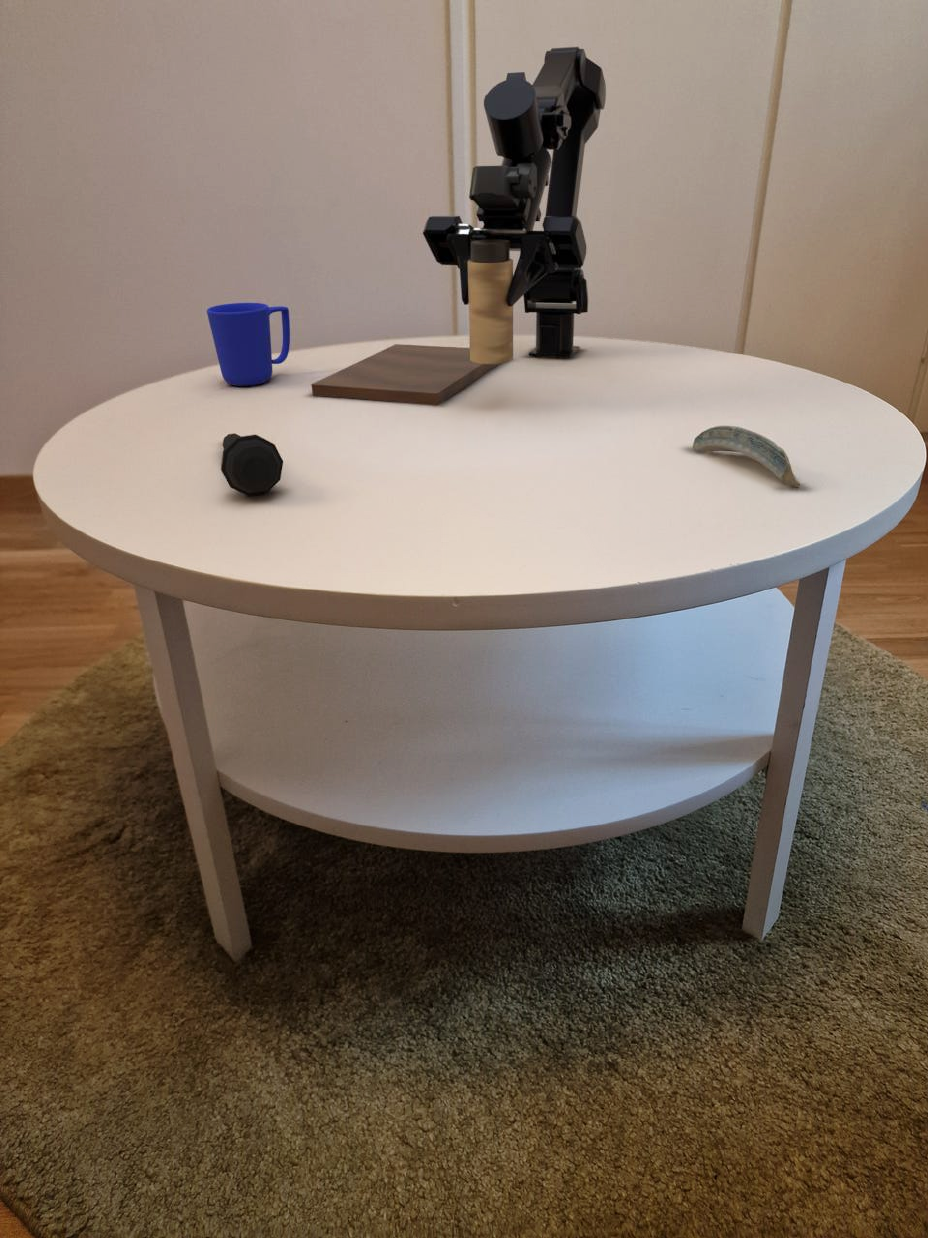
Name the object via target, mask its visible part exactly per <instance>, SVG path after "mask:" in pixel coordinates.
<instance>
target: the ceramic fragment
mask: <svg viewBox="0 0 928 1238" xmlns="http://www.w3.org/2000/svg"><path fill="white" fill-rule="evenodd" d="M692 449H693V450H695V451H697V452H704V453H705V452H706V453H707V452H733V453H734V452H735V453H740V454H743V455H745V456H747V457H749V458H751V459H752V460H754V461H756V462H758V463H759V464H761V465H762V466H764V467H765V468H766V469H768V470H769V471H771V472H772V473H773V474H774V475H775V476H776V477H777V478H779V479H780V480H781V481H782V482H783V483H785V484H787V485H788V486H792V487H794V488H799V487H801V485H802V484H801V482H800V481H799V480H798V478H797V476H796V475H795V474H794V472H793V470H792V465H791V462H790V459H789V456H788V454H787V452H785V450H784V449H783V448H782V447H781V446H779V445H777V443H775V442H774V441H773V440H771V439H769V438H768V437H766V436H764V435H762V434H759V433H758V432H755V431H753V430H750V429H746V428H744V427H740V426H735V425H717V426H714V427H709V428H707V429H706V430H703V431H701V432H700V433H699V434H698V435H697V436H695V438H694V441H693V443H692Z"/></svg>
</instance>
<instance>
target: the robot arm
mask: <svg viewBox="0 0 928 1238" xmlns="http://www.w3.org/2000/svg"><path fill="white" fill-rule="evenodd" d="M544 54H545V55H544V63H543V64H542V67H541V69H540V70H539V72H538V74H537V75H536V78H535V79H534V81H533V83H530V82H529V81H527V78H526V73H525V71H519V72H507V74H506V77H505V78H506V79H505V80H503V81H500V82H499V83H497V84H496V85H494V86H492V88H491V89H490V90H489V91H488V93H486V94H485V96H484V99H483V108H484V111H485V115H486V120H487V123H488V128H489V131H490V136H491V139H492V143H493V147H494V152H495V154H496V156H498V157H502V158H503V159H502V162H501V165H476V166H474V167H473V168H472V173H471V181H470V188H469V195H468V199H469V200H470V201H473V202H474V203H475V205H476V206H477V210H476V213H475V215H476V217H477V220H478V222H483V226H482V227H474V226H472V225H471V224H470V223H463V221H462V218H461V216H460V215H431V216H429V217H428V218H427V220H426V222H425V225H424V228H423V231H422V235H423V237H424V240H425V241H426V243H427V245H428V247H429V249H430V251H431V253H432V255H433V257H434V259H435V262H436V263H438V264H440V265H441V266H457V268H458V269H459V277H460V279H459V280H460V288H461V289H460V291H461V292H460V293H461V300H462V302H463V305H465V306H469V301H468V261H469V260H471V242H472V241H476V240H489V239H501V240H508V241H510V252H520V253H519V258H518V260H517V263H516V267H515V269H514V271H513V278H512V281H511V284H510V287H509V291H508V296H507V304H508V306H509V307H512V306H513V307H514V306H515V304H516V303H517V302H518V301H520V299H521V298H522V297H523V307H524V314H529V313H535V314H536V315H535V347H534V348H533V349H531V350H530V351H529V352H528V356H529V357H541V358H542V357H543V358H544V357H545V358H560V359H561V358H563V359H569V358H571V357H573V356H574V355H575V354H577V353H578V352H579V351H580V350H581V346H579V345H574V339H575V338H574V336H575V314H576V315H581V314H584V313H585V314H586V313H588V312H589V292H588V282H587V279H586V278H585V273H584V270H583V269H582V267H583V266H584V264H585V263H584V262H585V259H586V256H587V242H586V239H585V234H584V230H583V226H582V222H581V219H579V217H578V216H577V215H578V206H579V199H580V198H579V197H580V190H581V182H582V181H581V180H582V171H583V163H584V156H585V147H586V144H587V143H588V142H589V140H590V139H591V137H592V136H593V135H594V133H595V132H596V130H597V129H598V127H599V122H600V116H601V110H603V111H604V109H605V107H606V106H605V105H606V100H607V86H606V85H607V84H606V79H605V76H604V72H603V68H602V67H601V66H600V65H598V64H597V63H596V62H594V61H592V60H591V59H589V58H588V57H587V55H586V51H585V49H584V48H580V47H579V46H567V47H552V48H551V49H550V50H546V52H545V53H544ZM549 151H552V156H551V154H550V152H549ZM549 174H550V175H549ZM546 187H548V190H547V199H546V208H545V215H544V218H543V221H542V224H541V225H542V229H543V230H534V227H535V223H536V222H540V221H541V218H542V212H541V208H540V205H541V202H542V199H543V195H544V193H545V192H544V191H545V188H546ZM574 302H575V303H574Z"/></svg>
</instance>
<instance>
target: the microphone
mask: <svg viewBox="0 0 928 1238" xmlns="http://www.w3.org/2000/svg"><path fill="white" fill-rule="evenodd" d="M222 447H223V451H222V457H221V466H220V470H221V473H222V475H223V477H224V478H225V480H226V482H227V484H228V485H229V487H230V489H233V490H234V491H237V492H239V493H241V494H243V495H244V496H247V497H250V496H259V495H264V494H268V493H269V492H270V491H271V490H272V489H273V488H274V487H275V486H276V485H277V484H278V483H279V482H281V479H282V472H283V466H284V460H283V458H282V456H281V454H280V452H279V450H278V448H277V446H276V444H275V443H274V442H271V441H269V440H268V439H266V438H264V437H261V436H260V435H259V434H249V435H239V434H237V433H228V434H227V435H226V436H224V438H223V440H222Z"/></svg>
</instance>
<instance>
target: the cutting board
mask: <svg viewBox="0 0 928 1238" xmlns="http://www.w3.org/2000/svg"><path fill="white" fill-rule="evenodd" d="M498 365H499V364H479V363H474V362H472V361H470V347H456V346H455V347H454V346H439V345H438V346H436V345H420V344H398V343H396V344H392V345H391V346H389V347H387V348H384V349H383V350H381V351H379V352H376V353H374V354H372V355H370V356H368V357H365V358H363V359H361V360H360V361H358V362H356V363H355V362H354V363H353V364H351V365H349V366H347V367H345V368H343V369H341V370H338V371H336V372H334V373H332V374H329V375H328V376H326V377H324V378H322V379H320V380H318V381H315V382H313V383H312V384H311V391H312V392H311V393H312V396H314V397H315V396H317V397H325V398H326V397H327V398H340V399H341V398H342V399H356V400H364V401H365V400H366V401H379V402H393V403H406V404H418V405H430V406H431V405H432V406H433V405H434V406H439V405H440V404H442V403H443V402H445V401H446V400H448V399H449V398H451V397H453V395H455V394H457V393H458V392H459V391H461V390H462V389H464V388H465V387H467V386H468V385H470V384H471V383H473V382H474V381H476V380H478V379H479V378H480V377H482V376H483V375H485V374H486V373H488V372H489V371H491V370H492V369H494V368H495V367H496V366H498Z"/></svg>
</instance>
